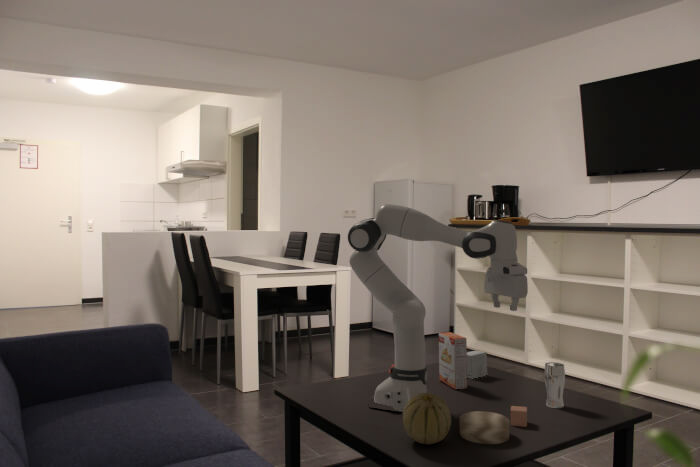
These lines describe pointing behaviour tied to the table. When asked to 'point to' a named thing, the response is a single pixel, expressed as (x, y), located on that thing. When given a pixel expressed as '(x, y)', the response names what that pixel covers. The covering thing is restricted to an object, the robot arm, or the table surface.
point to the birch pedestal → (484, 427)
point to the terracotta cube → (518, 416)
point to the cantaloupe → (427, 418)
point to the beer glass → (554, 384)
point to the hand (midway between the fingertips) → (505, 308)
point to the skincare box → (476, 364)
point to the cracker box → (453, 360)
